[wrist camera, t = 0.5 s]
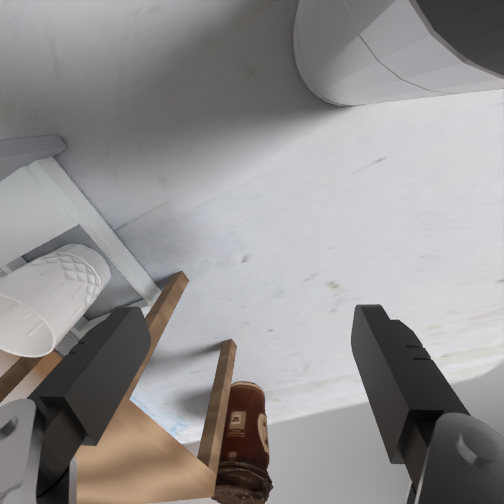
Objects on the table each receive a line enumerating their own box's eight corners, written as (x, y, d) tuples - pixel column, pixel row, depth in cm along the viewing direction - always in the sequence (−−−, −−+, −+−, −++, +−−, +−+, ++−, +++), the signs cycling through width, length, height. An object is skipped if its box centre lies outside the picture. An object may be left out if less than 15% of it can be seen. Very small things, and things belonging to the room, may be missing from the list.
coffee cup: (278, 382, 39) (280, 493, 27) (268, 411, 43) (266, 518, 32) (223, 373, 39) (202, 480, 27) (218, 403, 43) (199, 507, 31)
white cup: (50, 277, 32) (-34, 339, 23) (53, 227, 28) (-46, 278, 19) (111, 300, 33) (52, 367, 24) (121, 255, 29) (57, 315, 21)
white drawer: (-52, 212, 28) (-152, 242, 21) (57, 134, 23) (-29, 142, 16) (78, 331, 36) (35, 379, 29) (179, 292, 31) (154, 340, 24)
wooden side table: (57, 322, 36) (-81, 455, 22) (182, 271, 30) (101, 410, 16) (121, 379, 41) (44, 513, 27) (236, 346, 35) (213, 496, 21)
